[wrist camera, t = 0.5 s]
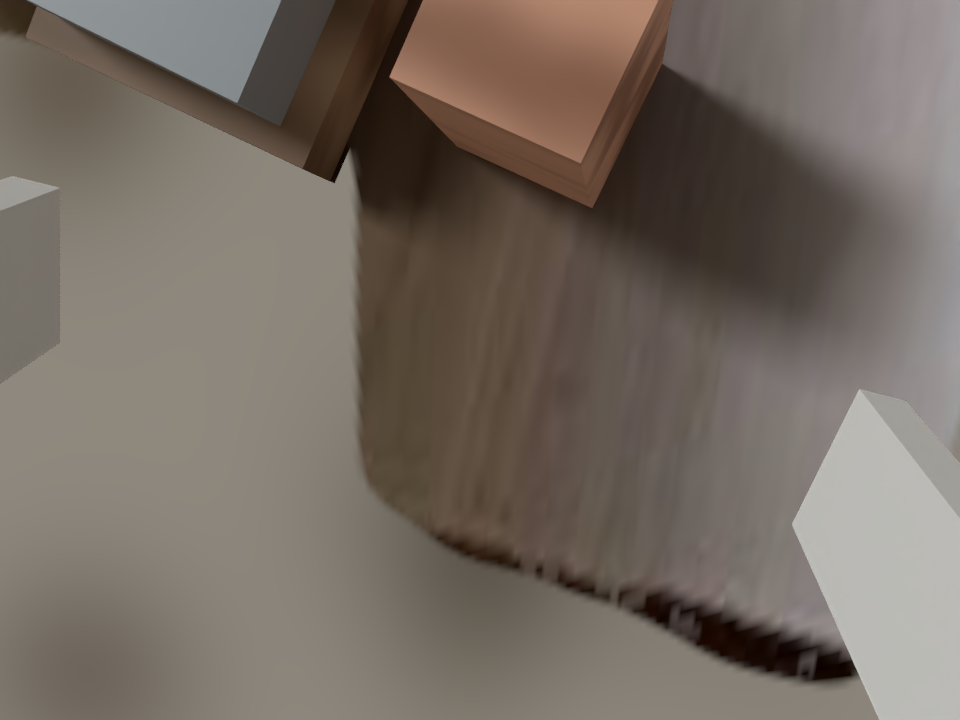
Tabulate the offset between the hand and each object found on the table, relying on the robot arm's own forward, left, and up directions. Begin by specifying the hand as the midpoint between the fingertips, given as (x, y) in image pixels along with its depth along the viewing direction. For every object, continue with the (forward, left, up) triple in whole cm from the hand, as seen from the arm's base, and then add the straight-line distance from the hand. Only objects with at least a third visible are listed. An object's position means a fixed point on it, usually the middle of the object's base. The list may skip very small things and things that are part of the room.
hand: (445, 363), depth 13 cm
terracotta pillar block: (-9, -5, -24) cm, 26 cm away
